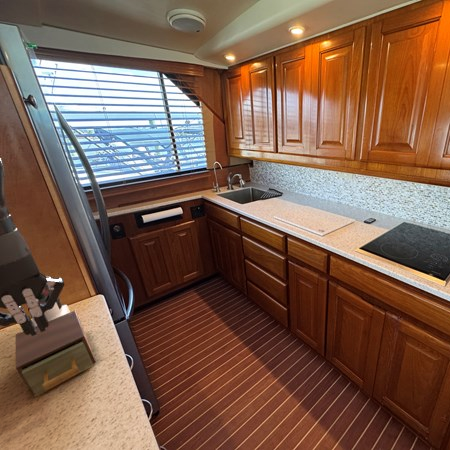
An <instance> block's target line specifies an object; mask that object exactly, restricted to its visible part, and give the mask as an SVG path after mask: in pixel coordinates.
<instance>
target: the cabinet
mask: <svg viewBox="0 0 450 450" xmlns="http://www.w3.org/2000/svg"><path fill="white" fill-rule="evenodd" d="M48 323H49V325H48V327H46V331H43V332H41V331H40V329H39V327H38V326H35V327H36V330H37V334H36V335H34V336H32V335H31V334H29V335H26V334H25V333H24V331H23V330H22V331H21V332H18V333H15V369H16V371H17V373H18V374H19V376H20V377H21V379H22V380H23V382H24V384H25V385H26V386H27V389H28V390H29V392H30V393H31V395H32V396H33V397H34V396H35V394H34V392H33V391H32V389H31V388H30V386H29V384H28V383H27V381H26V379H25V378H24V376H23V375H22V370H24V369H26V368H27V365H29V364H31V363H33V362H36V361H38V360H40V359H42V358H44V357H46V356H48V355H50V354H52V353H55V352H57V351H59V350H61V349H63V348H65V347H67V346H69V345H71V344H74V343H76V342H78V341H80V340H81V341H83V343H84V345H85V348H86V350H87V352H88V354H89V356H90V358H91V361H92V363H93V365H94V364H95V363H97V361H96V359H95V356H94V352H93V350H92V348H91V345H90V342H89V339H88V336H87V333H86V332H85V330H84V327H83V325H82V322H81V320H80V318H79V315H78V314H77V311H76V310H73V311H70V313H68V314H65V315H63V316H60V317H58V318H55V319H53V320H50V321H48ZM35 397H36V396H35Z"/></svg>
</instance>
